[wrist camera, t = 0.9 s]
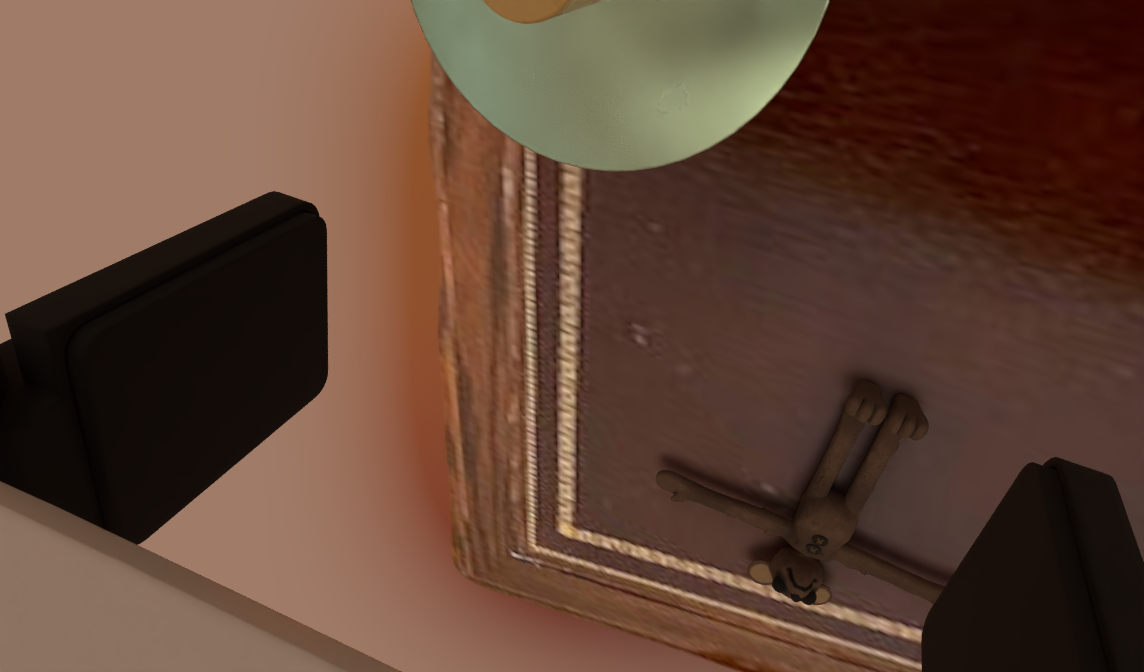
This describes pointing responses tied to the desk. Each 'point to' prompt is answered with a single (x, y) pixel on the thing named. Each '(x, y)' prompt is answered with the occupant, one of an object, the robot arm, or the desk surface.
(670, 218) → the desk surface
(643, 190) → the desk surface
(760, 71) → the lid
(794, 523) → the brown thin branching figure
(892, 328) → the desk surface
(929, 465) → the desk surface
